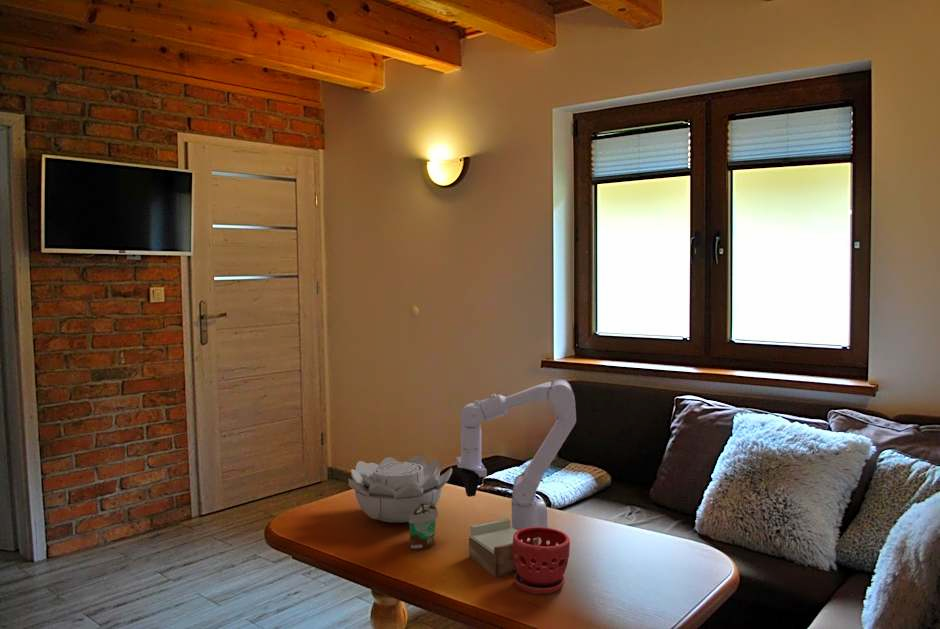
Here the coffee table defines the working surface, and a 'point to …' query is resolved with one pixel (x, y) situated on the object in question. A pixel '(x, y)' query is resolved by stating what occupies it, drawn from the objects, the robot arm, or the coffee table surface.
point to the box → (495, 558)
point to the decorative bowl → (397, 487)
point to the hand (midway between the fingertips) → (471, 495)
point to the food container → (423, 526)
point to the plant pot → (540, 559)
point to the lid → (493, 534)
